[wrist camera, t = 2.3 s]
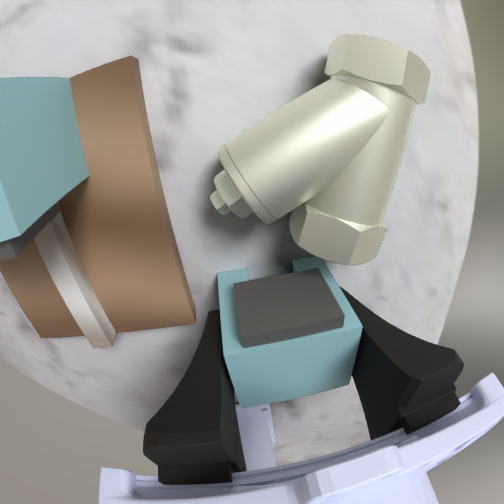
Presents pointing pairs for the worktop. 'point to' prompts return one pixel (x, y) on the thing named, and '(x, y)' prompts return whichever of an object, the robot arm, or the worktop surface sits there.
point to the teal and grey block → (286, 333)
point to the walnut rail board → (106, 227)
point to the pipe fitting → (330, 152)
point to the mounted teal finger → (35, 156)
